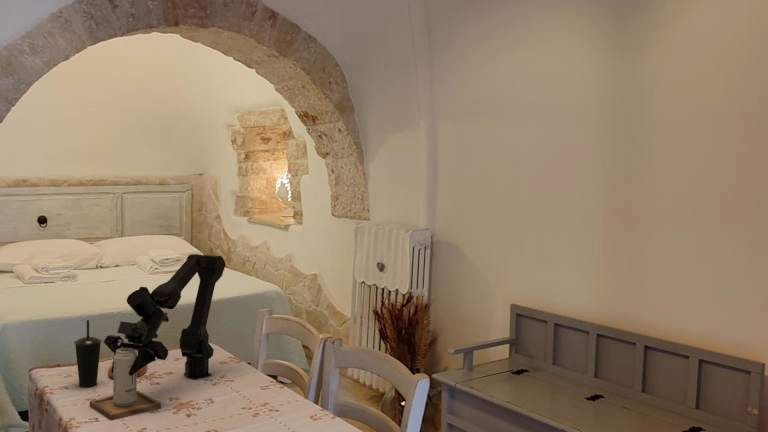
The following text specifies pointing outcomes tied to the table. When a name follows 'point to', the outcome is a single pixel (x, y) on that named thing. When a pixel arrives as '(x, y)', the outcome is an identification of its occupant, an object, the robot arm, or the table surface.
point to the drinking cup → (88, 359)
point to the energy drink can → (124, 377)
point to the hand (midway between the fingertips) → (120, 373)
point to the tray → (115, 412)
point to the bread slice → (139, 373)
